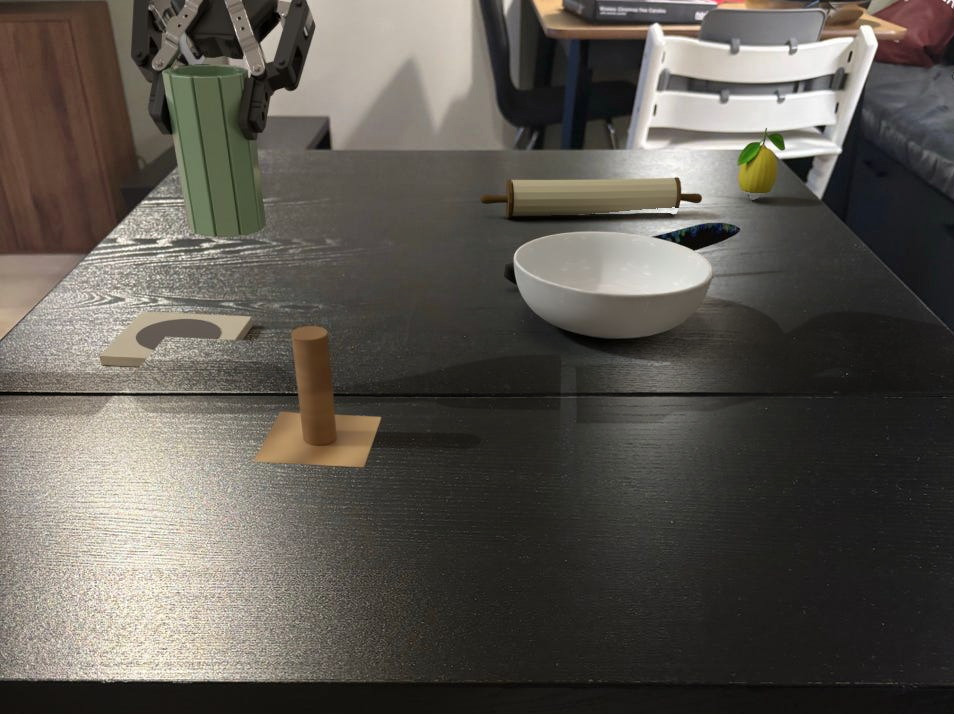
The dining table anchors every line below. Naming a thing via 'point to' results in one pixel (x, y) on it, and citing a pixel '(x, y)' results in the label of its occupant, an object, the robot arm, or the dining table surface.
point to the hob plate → (170, 334)
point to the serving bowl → (611, 282)
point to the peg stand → (317, 414)
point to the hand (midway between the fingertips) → (204, 130)
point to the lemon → (759, 165)
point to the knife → (678, 239)
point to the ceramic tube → (214, 150)
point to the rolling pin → (589, 196)
